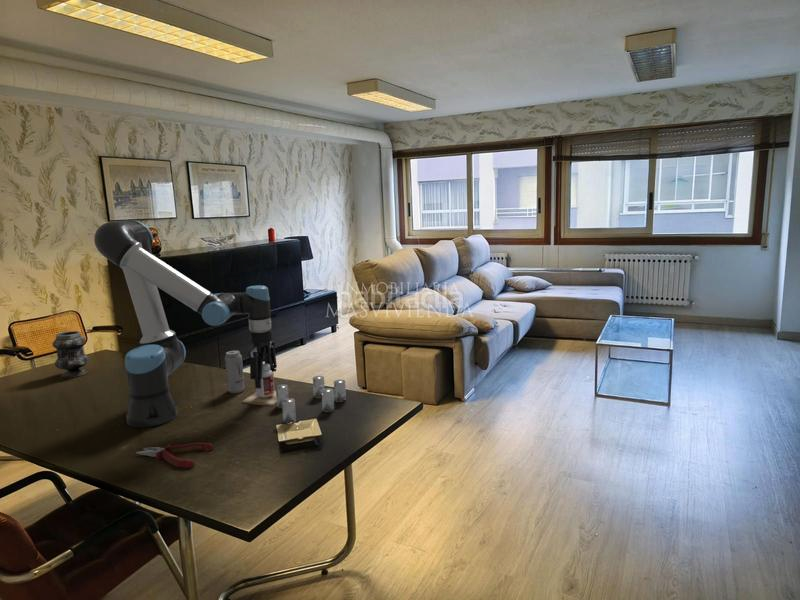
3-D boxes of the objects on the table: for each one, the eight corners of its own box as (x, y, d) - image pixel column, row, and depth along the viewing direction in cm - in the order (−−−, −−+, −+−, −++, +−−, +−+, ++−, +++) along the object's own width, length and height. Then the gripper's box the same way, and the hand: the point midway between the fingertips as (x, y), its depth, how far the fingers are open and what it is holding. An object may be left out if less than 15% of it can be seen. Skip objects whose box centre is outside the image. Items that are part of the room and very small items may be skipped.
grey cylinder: (343, 403, 179) (342, 383, 178) (332, 402, 180) (331, 382, 179) (347, 398, 183) (346, 379, 181) (337, 397, 184) (336, 379, 183)
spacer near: (292, 424, 163) (290, 403, 161) (281, 423, 164) (279, 402, 163) (298, 419, 167) (297, 398, 165) (287, 418, 168) (285, 397, 166)
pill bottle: (275, 396, 183) (273, 366, 181) (257, 399, 181) (255, 369, 179) (273, 390, 189) (271, 361, 187) (255, 393, 187) (253, 364, 185)
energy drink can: (240, 394, 190) (236, 354, 187) (224, 393, 191) (221, 354, 188) (247, 388, 196) (244, 350, 193) (232, 387, 197) (229, 349, 194)
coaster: (272, 406, 178) (272, 404, 178) (242, 403, 181) (241, 401, 181) (289, 393, 189) (289, 391, 189) (260, 390, 193) (260, 389, 193)
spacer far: (322, 398, 183) (321, 379, 182) (311, 397, 185) (310, 379, 183) (326, 394, 187) (325, 376, 186) (316, 393, 188) (315, 375, 187)
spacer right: (331, 413, 171) (330, 393, 169) (320, 412, 172) (319, 392, 170) (336, 408, 174) (335, 388, 173) (325, 407, 176) (324, 387, 174)
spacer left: (285, 408, 176) (283, 389, 174) (274, 407, 177) (273, 388, 175) (291, 404, 179) (289, 384, 178) (280, 403, 180) (279, 384, 179)
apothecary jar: (96, 369, 224) (90, 328, 221) (81, 378, 212) (74, 336, 209) (67, 370, 223) (60, 330, 220) (50, 379, 212) (43, 337, 208)
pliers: (153, 445, 152) (152, 437, 152) (215, 450, 148) (214, 441, 148) (125, 464, 141) (124, 456, 141) (191, 470, 137) (190, 461, 137)
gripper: (255, 337, 170) (260, 403, 175) (284, 324, 189) (288, 384, 193) (235, 336, 173) (241, 401, 177) (265, 323, 191) (270, 382, 195)
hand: (265, 392), depth 185 cm, fingers open, 6 cm apart
